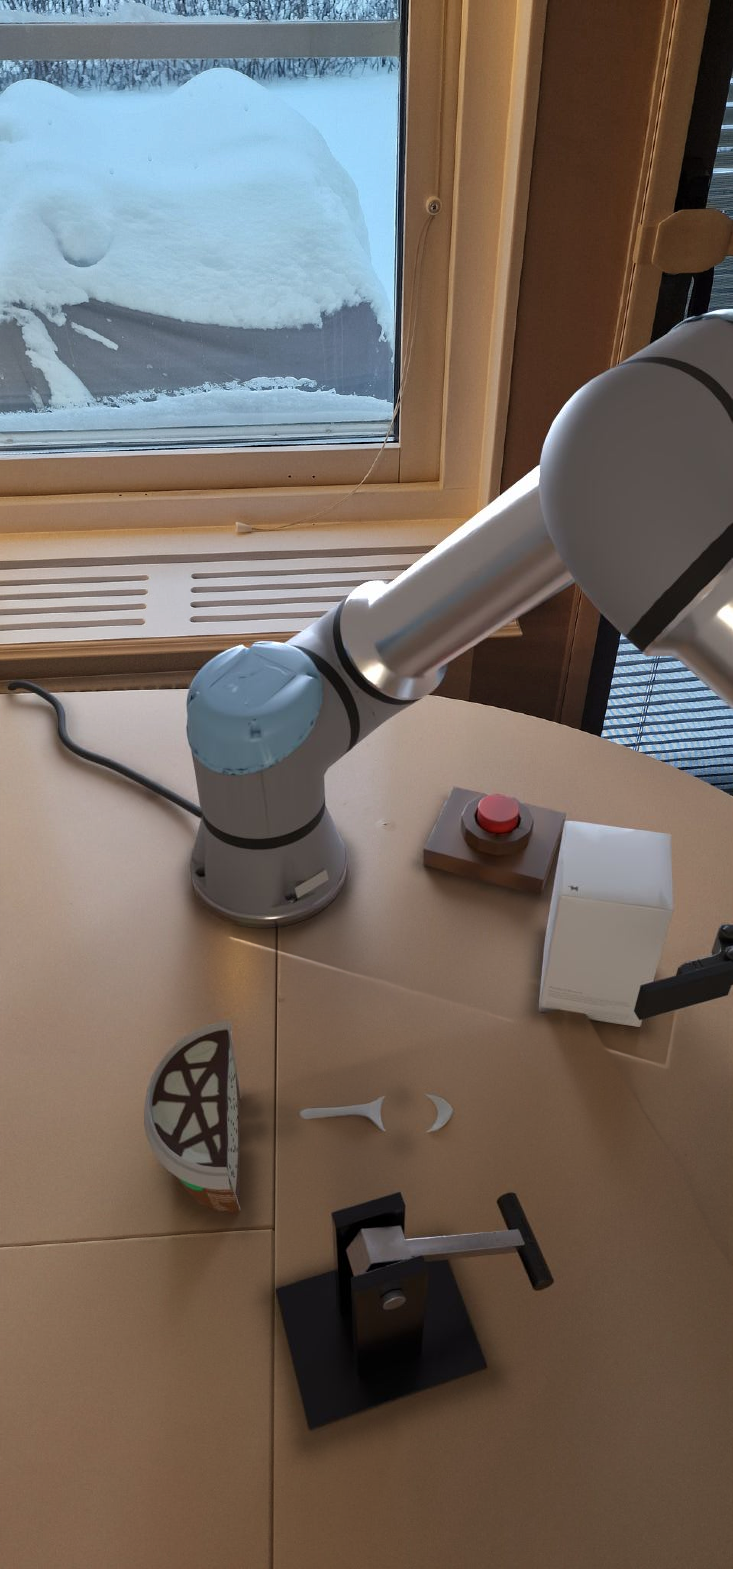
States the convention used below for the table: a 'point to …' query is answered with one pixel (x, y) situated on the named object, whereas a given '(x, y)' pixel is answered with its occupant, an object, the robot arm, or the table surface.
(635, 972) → the rectangular carton
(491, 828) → the button
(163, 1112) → the food container
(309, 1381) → the bracket
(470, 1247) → the lever
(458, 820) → the button block
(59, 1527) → the table surface
